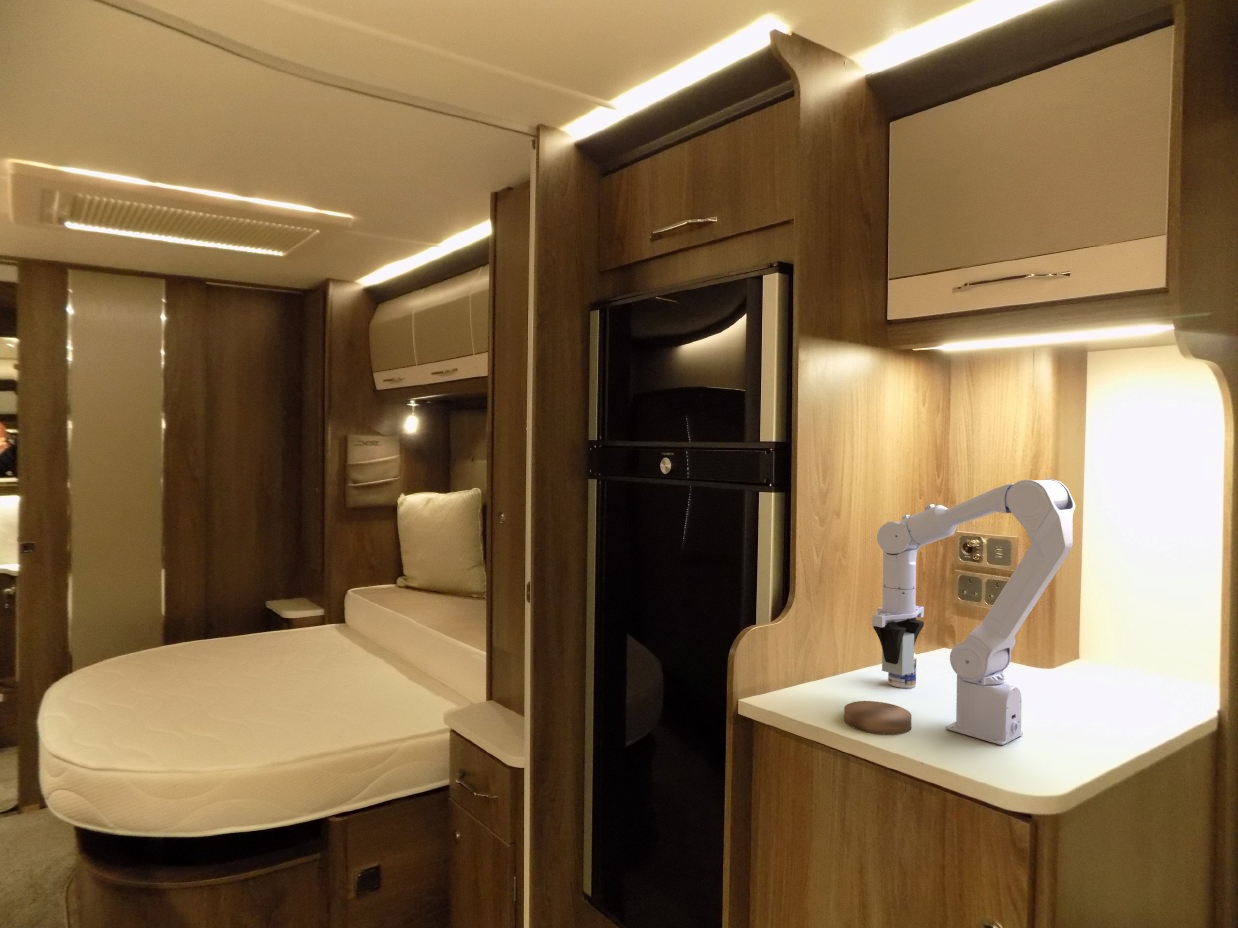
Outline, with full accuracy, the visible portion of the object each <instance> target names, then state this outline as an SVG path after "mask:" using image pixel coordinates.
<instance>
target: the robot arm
mask: <svg viewBox="0 0 1238 928" xmlns="http://www.w3.org/2000/svg"><path fill="white" fill-rule="evenodd" d="M923 508H924V510H922V511H919V512H916V513H915V514H913V515H910V514H904V515H903V516H901V521H895V520H894V521H887V522H886V523H884V524H883V525H881V526H880V527H879V529H878V531H877V535H876V541H877V543H878V546H879V548H880V549H881V550H882V606H879V607H876V613H874V614H872V615H871V620H872V621H871V626H872V628H873V630H874V631H875V633H876V635H877V636H878V637H877V638H878V639H879V642H880V645H881V649H882V650H883V654H884V658H885V662H887V663H892V664H897V663H898V660H899V653H900V645H901V641H902V638H903V635H904V633H905V632H908V633H913V634H914V646H916V641H917V638H918V636H919V635H920V633H921V630H922V629H923V627H924V625H925V621H923V620H920V619H919V620H918V619H917V618H924V616H925V615H924V614H925V613H924V611H925V607H924V606H920V605H916V602H917V601H916V599H917V598H916V597H917V596H916V592H917V587H916V585H917V558H918V557H917V556H918V555H917V553H918V551H919V549H920V548H921V547H925V546H927V545H929V544H932V543H934V542H937V541H941V540H944V539H946V538H949V537H951V536H953V535H954V534H955V532H956V530H957V528H958V526H960V525H962V524H964V523H965V524H966V523H968V522H972V521H974V520H978V519H980V518H983V517H986V516H989V515H992V514H995V513H1001V514H1012V515H1013V516H1014V518H1015V519H1016V521H1018V522H1019V524H1020V525H1021V526H1022V527H1023V529H1024V530H1025V532H1026V534H1027V537H1028V538H1029V541H1030V546H1029V547H1028V548H1027V551H1026V552H1025V554H1024V555H1023V557H1022V558H1021V559H1020V561H1019V563H1018V565H1017V566H1016V568H1015V569H1014V571H1013V572H1012V574H1011V575H1010V577H1009V579H1008V581H1007V582H1006V583H1005V585H1004V586H1003V588H1002V590H1001V591H1000V592H999V594H998V596H997V598H996V599H995V601H994V603H993V604H992V606H991V607H990V609H989V610H988V612H987V614H986V615H985V617H983V619H982V621H981V622H980V623H979V624H978V625H976V627H975V628H973V630H972V631H971V632H970V633H969V634H967V636H966V638H965V639H964V640H963V641H961V642H959V643H956V644H955V646H954V647H952V649H951V651H950V654H949V661H950V665H951V668H952V671H954V673H955V675H956V709H955V710H956V711H955V713H956V714H955V715H956V716H955V717H956V718H955V721H953V722H952V723H950V724H947V725H946V726H945V729H946V730H948V731H952V732H955V733H959V734H962V735H966V736H969V737H973V738H976V739H979V740H982V741H986V742H989V743H992V744H997V745H1000V746H1004V745H1005V744H1008V743H1010V742H1012V741H1013V740H1015V739H1017V738H1018V737H1020V736H1022V735H1023V734H1024V732H1023V731H1022V694H1021V691H1020V689H1019V688H1018V687H1017V686H1014V685H1011V684H1009V683H1007V682H1006V681H1005V675H1004V670H1006V669H1007V668H1008V666H1009V665H1010V663H1011V659H1012V650H1013V649H1014V646H1015V645H1016V643H1017V642H1016V641H1017V640H1016V637H1015V636H1016V634H1017V633H1018V632H1019V630H1020V628H1021V626H1022V625H1023V624H1024V622H1025V621H1026V620H1027V618H1028V616H1029V615H1030V613H1031V612H1032V610H1033V608H1034V607H1035V605H1036V604H1037V603H1038V601H1039V599H1040V598H1041V596H1042V595H1043V594H1044V592H1045V591H1046V589H1047V587H1048V586H1049V585H1050V583H1051V581H1052V580H1053V578H1054V577H1055V575H1056V574H1057V572H1058V571H1059V569H1060V568H1061V566H1062V564H1063V563H1064V562H1065V560H1066V559H1067V557H1068V556H1069V554H1070V552H1072V551H1071V550H1072V548H1073V545H1074V541H1073V540H1074V533H1073V532H1074V529H1073V528H1074V526H1073V524H1074V521H1073V518H1074V517H1073V516H1074V512H1075V509H1076V503H1075V501H1074V499H1073V497H1072V495H1071V493H1070V490H1069V488H1068V487H1067V486H1066V485H1065V484H1064V483H1062V482H1061V481H1059V480H1056V479H1052V478H1046V479H1040V480H1034V479H1022V480H1018V481H1017V482H1015V483H1009V484H1004V485H1002V486H1001V485H1000V486H998V487H995V488H992V489H990V490H988V491H986V492H984V493H981V494H978V495H977V496H974V497H972V498H969V499H968V500H967V499H966V500H965V501H962V502H961V503H958V504H956V505H954V506H952V507H951V506H950V508H949V507H946V506H944V505H942V504H938V505H935V504H933V503H932V504H927V505H925V506H924V507H923Z"/></svg>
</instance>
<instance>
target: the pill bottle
mask: <svg viewBox="0 0 1238 928" xmlns="http://www.w3.org/2000/svg"><path fill="white" fill-rule="evenodd" d="M887 674H888V677H887V678H888V679H887V680H888V681H887V682H888V684H889V685H890V686H893V687H895V688H901V689H913V688H915V687H916V685H917V654H916V653H915V652H914V672H912V673H909V674H906V675H903V676H901V675H897V674H893V673H889V672H887Z"/></svg>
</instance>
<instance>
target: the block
mask: <svg viewBox="0 0 1238 928" xmlns="http://www.w3.org/2000/svg"><path fill="white" fill-rule="evenodd" d="M914 653H915V645H914V634H913V633H908V632H905V633H904V635H903V638H902V641H901V645H900V653H899V660H898V663H897V664H892V663H887V662H885V658H884V654H883V650H882V651H881V654H882V655H881V657H882V658H881V661H882V662H881V671H882V672H886V673H888V672H889V673H893V674H897V675H901V676H903V675H906V674H909V673H912V672H914Z"/></svg>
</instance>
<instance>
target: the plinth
mask: <svg viewBox="0 0 1238 928" xmlns="http://www.w3.org/2000/svg"><path fill="white" fill-rule="evenodd" d="M843 710H844V715H843V716H844V722H845V723H846V724H847V726H849V727H851V728H853V729H856V730H858V731H862V732H865V733H871V734H876V735H891V736H892V735H901V734H905V733H907V732H908V733H909V732H910V730H912V715H913V714H912V713H911V712H910V710H907V708H904V707H902V706H899V705H896V704H892V703H888V702H883V701H874V700H867V701H866V700H860V701H859V700H858V701H853V702H850V703H847V704H846V705H845V706H844V709H843Z"/></svg>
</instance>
